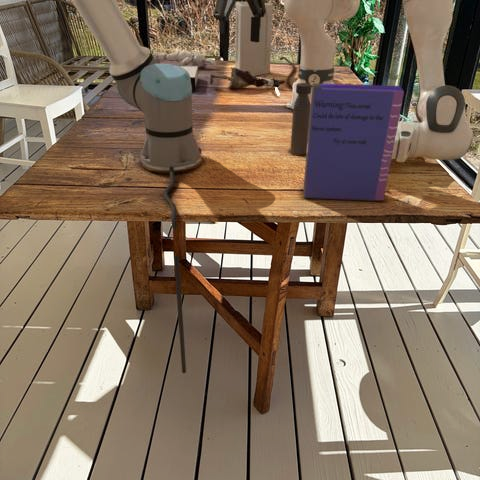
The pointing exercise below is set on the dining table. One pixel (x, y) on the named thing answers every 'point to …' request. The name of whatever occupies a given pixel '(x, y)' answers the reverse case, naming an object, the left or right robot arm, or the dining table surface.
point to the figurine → (246, 79)
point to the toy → (183, 58)
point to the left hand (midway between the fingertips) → (240, 44)
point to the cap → (303, 88)
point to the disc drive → (192, 75)
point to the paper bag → (253, 53)
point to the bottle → (300, 125)
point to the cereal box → (351, 141)
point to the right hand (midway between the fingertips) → (349, 134)
